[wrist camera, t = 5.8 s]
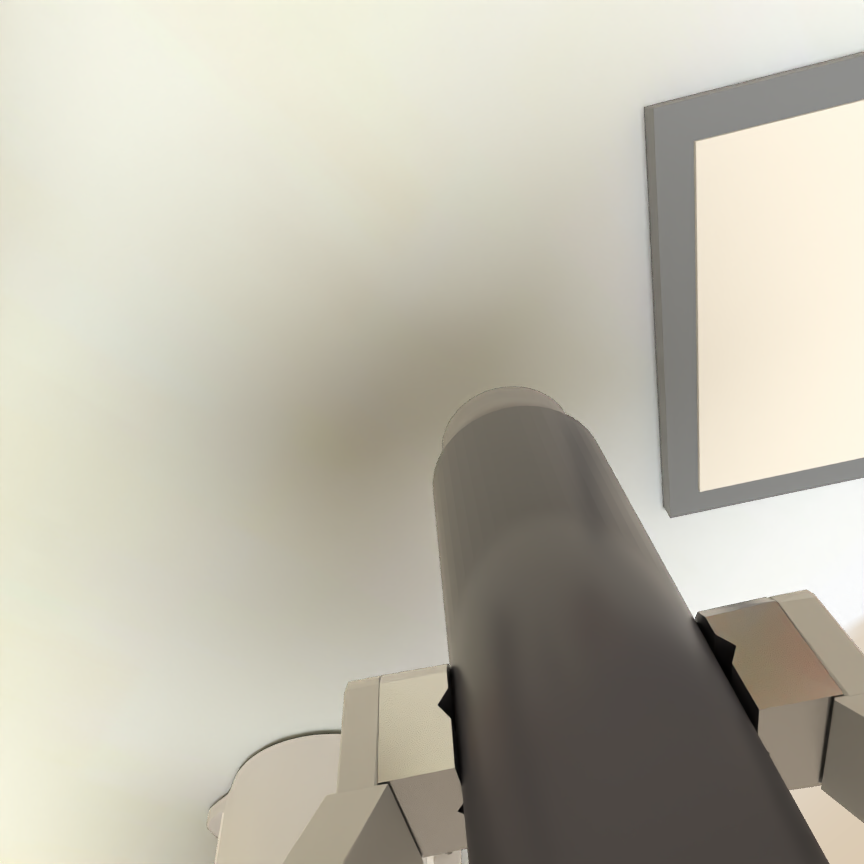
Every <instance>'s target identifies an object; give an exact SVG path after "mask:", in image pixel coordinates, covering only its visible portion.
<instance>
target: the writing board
mask: <svg viewBox="0 0 864 864" xmlns="http://www.w3.org/2000/svg"><path fill="white" fill-rule="evenodd" d="M644 111H645V132H646V152H647V173H648V194H649V214H650V235H651V256H652V277H653V297H654V318H655V339H656V360H657V380H658V401H659V422H660V442H661V463H662V484H663V505H664V508H665V510H666V511H667V513H668V515H669V516H670V518H673V517H678V516H683V515H687V514H692V513H697V512H702V511H706V510H711V509H716V508H721V507H726V506H730V505H735V504H740V503H745V502H750V501H754V500H759V499H764V498H769V497H773V496H778V495H783V494H788V493H793V492H797V491H802V490H807V489H812V488H817V487H821V486H826V485H831V484H836V483H840V482H845V481H850V480H855V479H860V478H864V52H861V53H857V54H853V55H849V56H845V57H841V58H837V59H833V60H829V61H825V62H821V63H817V64H813V65H809V66H805V67H801V68H797V69H793V70H789V71H785V72H781V73H777V74H773V75H769V76H766V77H762V78H758V79H754V80H750V81H746V82H742V83H738V84H734V85H730V86H726V87H722V88H718V89H714V90H710V91H706V92H702V93H698V94H694V95H690V96H686V97H682V98H678V99H674V100H670V101H666V102H662V103H658V104H655V105H651V106H647V107H644Z"/></svg>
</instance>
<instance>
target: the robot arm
mask: <svg viewBox="0 0 864 864" xmlns="http://www.w3.org/2000/svg"><path fill="white" fill-rule="evenodd" d="M695 621H696V623H697V625H698V627H699V629H700V630H701V632H702V634H703V636H704V638H705V639H706V641H707V643H708V645H709V647H710V648H711V650H712V652H713V654H714V656H715V658H716V659H717V661H718V663H719V665H720V667H721V668H722V670H723V672H724V674H725V676H726V677H727V679H728V681H729V683H730V685H731V687H732V688H733V690H734V692H735V694H736V696H737V697H738V699H739V701H740V703H741V705H742V706H743V708H744V710H745V712H746V714H747V715H748V717H749V719H750V721H751V723H752V725H753V726H754V728H755V730H756V732H757V734H758V735H759V737H760V739H761V741H762V743H763V744H764V746H765V748H766V750H767V752H768V754H769V755H770V757H771V759H772V761H773V763H774V764H775V766H776V768H777V770H778V772H779V773H780V775H781V777H782V779H783V781H784V783H785V784H786V786H787V788H788V790H794V789H800V788H806V787H814V786H820V785H822V786H821V789H822V790H823V791H824V792H826V793H827V794H828V795H829V796H831V797H832V798H833V799H834V800H836V801H837V802H838V803H839V804H841V805H842V806H843V807H845V808H846V809H847V810H848V811H849V812H851V813H852V814H853V815H854V816H856V817H857V818H858V819H859V820H861V821H862V822H863V823H864V654H863V653H862V651H861V650H860V649H859V648H858V647H857V645H856V644H855V643H854V642H853V640H852V639H851V638H850V637H849V636H848V634H847V633H846V632H845V631H844V630H843V628H842V627H841V626H840V625H839V623H838V622H837V621H836V620H835V619H834V617H833V616H832V615H831V614H830V613H829V611H828V610H827V609H826V608H825V606H824V605H823V604H822V603H821V602H820V600H819V599H818V598H817V597H816V596H815V594H813V593H811V592H810V591H808V590H802V591H797V592H792V593H787V594H782V595H777V596H772V597H769V598H766V597H763V598H759V599H754V600H750V601H745V602H740V603H736V604H731V605H727V606H722V607H717V608H713V609H708V610H704V611H699V612H697V615H696V617H695ZM207 828H208V830H209V831H210V832H211V833H212V834H214V835H215V836H216V837H217V838H218V843H217V850H216V856H215V862H214V864H461V850H462V849H466V848H467V839H466V828H465V818H464V807H463V797H462V779H461V769H460V758H459V748H458V738H457V734H456V724H455V707H454V697H453V687H452V677H451V668H450V666H449V664H443V665H438V666H432V667H426V668H421V669H415V670H409V671H403V672H398V673H392V674H386V675H381V676H376V677H371V678H366V679H360V680H355V681H350V682H348V684H347V687H346V690H345V692H344V703H343V715H342V727H341V734H320V735H311V736H304V737H299V738H294V739H291V740H287V741H284V742H281V743H278V744H275V745H273V746H271V747H268V748H266V749H265V750H263V751H261V752H259V753H258V754H256V755H255V756H253V757H252V758H251V759H249V760H248V761H247V762H246V763H245V764H244V765H243V766H242V767H241V769H240V770H239V771H238V773H237V774H236V776H235V779H234V781H233V784H232V787H231V789H230V791H229V793H228V794H227V795H226V796H225V797H223V798H222V799H221V800H219V801H218V802H217V803H216V804H214V805H213V806H212V807H211V808H210V810H209V812H208V819H207Z"/></svg>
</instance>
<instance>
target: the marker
mask: <svg viewBox="0 0 864 864" xmlns="http://www.w3.org/2000/svg"><path fill="white" fill-rule="evenodd" d="M433 496H434V506H435V517H436V527H437V538H438V548H439V558H440V569H441V579H442V589H443V600H444V610H445V621H446V631H447V641H448V652H449V662H450V668H451V677H452V687H453V697H454V707H455V724H456V734H457V738H458V748H459V758H460V769H461V779H462V797H463V807H464V818H465V828H466V839H467V849H468V859H469V864H829V862H828V860H827V859H826V857H825V855H824V853H823V851H822V850H821V848H820V846H819V844H818V842H817V841H816V839H815V837H814V835H813V833H812V832H811V830H810V828H809V826H808V824H807V822H806V821H805V819H804V817H803V815H802V814H801V812H800V810H799V808H798V806H797V804H796V803H795V801H794V799H793V797H792V795H791V793H790V792H789V790H788V788H787V786H786V784H785V783H784V781H783V779H782V777H781V775H780V773H779V772H778V770H777V768H776V766H775V764H774V763H773V761H772V759H771V757H770V755H769V754H768V752H767V750H766V748H765V746H764V744H763V743H762V741H761V739H760V737H759V735H758V734H757V732H756V730H755V728H754V726H753V725H752V723H751V721H750V719H749V717H748V715H747V714H746V712H745V710H744V708H743V706H742V705H741V703H740V701H739V699H738V697H737V696H736V694H735V692H734V690H733V688H732V687H731V685H730V683H729V681H728V679H727V677H726V676H725V674H724V672H723V670H722V668H721V667H720V665H719V663H718V661H717V659H716V658H715V656H714V654H713V652H712V650H711V648H710V647H709V645H708V643H707V641H706V639H705V638H704V636H703V634H702V632H701V630H700V629H699V627H698V625H697V623H696V621H695V619H694V618H693V616H692V614H691V612H690V610H689V609H688V607H687V605H686V603H685V601H684V600H683V598H682V596H681V594H680V592H679V590H678V589H677V587H676V585H675V583H674V581H673V580H672V578H671V576H670V574H669V572H668V571H667V569H666V567H665V565H664V563H663V562H662V560H661V558H660V556H659V554H658V552H657V551H656V549H655V547H654V545H653V543H652V542H651V540H650V538H649V536H648V534H647V533H646V531H645V529H644V527H643V525H642V523H641V522H640V520H639V518H638V516H637V514H636V513H635V511H634V509H633V507H632V505H631V504H630V502H629V500H628V498H627V496H626V494H625V493H624V491H623V489H622V487H621V485H620V484H619V482H618V480H617V478H616V476H615V475H614V473H613V471H612V469H611V467H610V465H609V464H608V462H607V460H606V458H605V456H604V455H603V453H602V451H601V449H600V447H599V446H598V444H597V442H596V440H595V439H594V437H593V436H592V434H591V433H590V432H589V431H588V429H586V428H585V427H584V426H583V425H582V424H581V423H580V422H578V421H577V420H575V419H574V418H572V417H571V416H569V415H566V414H565V412H564V411H563V409H562V408H561V407H560V406H559V405H558V404H557V403H556V402H555V401H554V400H553V399H552V398H550V397H549V396H547V395H545V394H543V393H541V392H539V391H536V390H533V389H530V388H525V387H514V386H513V387H501V388H495V389H492V390H489V391H486V392H483V393H481V394H479V395H477V396H475V397H473V398H472V399H470V400H469V401H468V402H466V403H465V404H464V405H463V406H461V407H460V408H459V409H458V410H457V412H456V413H455V414H454V415H453V417H452V418H451V420H450V421H449V423H448V425H447V427H446V430H445V433H444V436H443V443H442V453H441V454H440V457H439V459H438V461H437V463H436V467H435V471H434V476H433Z"/></svg>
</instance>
